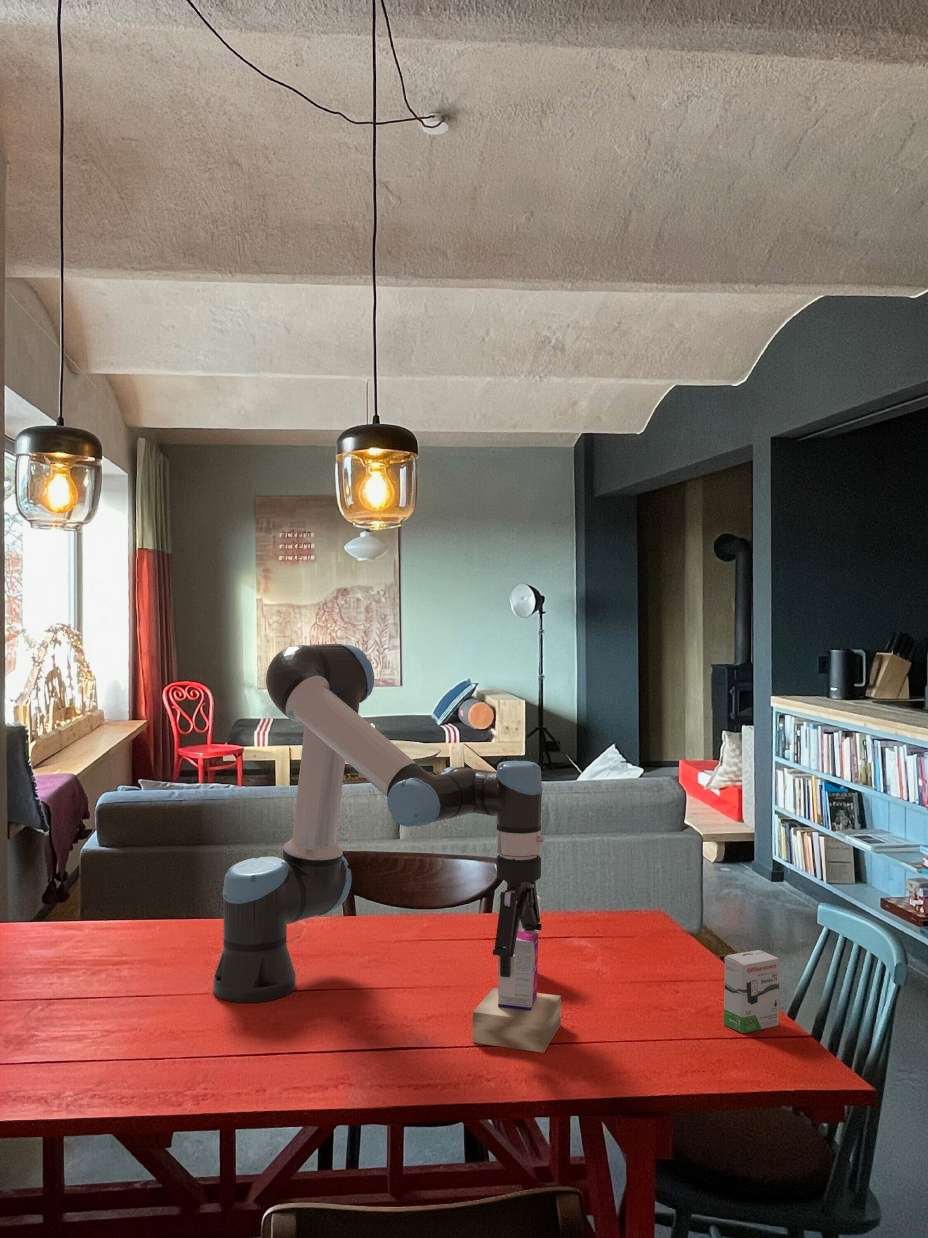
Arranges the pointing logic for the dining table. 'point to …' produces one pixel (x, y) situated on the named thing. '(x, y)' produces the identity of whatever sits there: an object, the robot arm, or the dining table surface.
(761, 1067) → the dining table surface
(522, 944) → the supplement box
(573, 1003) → the dining table surface
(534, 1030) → the maple block
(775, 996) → the ink box
